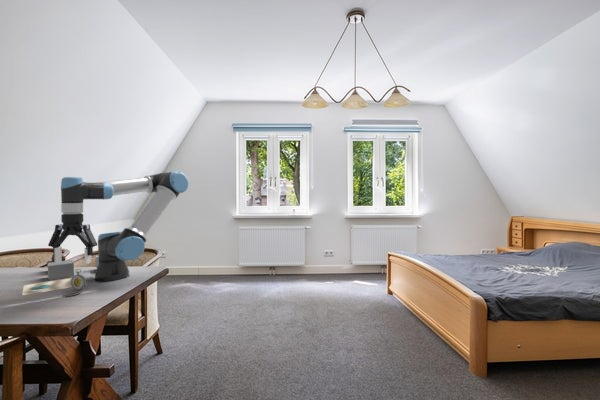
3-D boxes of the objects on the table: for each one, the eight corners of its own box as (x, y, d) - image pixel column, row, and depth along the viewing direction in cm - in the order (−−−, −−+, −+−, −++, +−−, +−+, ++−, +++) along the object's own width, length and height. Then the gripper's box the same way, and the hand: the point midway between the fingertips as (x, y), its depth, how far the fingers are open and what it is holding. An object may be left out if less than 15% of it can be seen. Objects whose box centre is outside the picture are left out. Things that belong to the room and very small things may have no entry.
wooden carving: (42, 271, 170) (42, 254, 170) (52, 269, 175) (51, 252, 174) (61, 274, 164) (60, 255, 164) (70, 272, 168) (70, 254, 168)
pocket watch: (60, 298, 125) (59, 273, 125) (64, 292, 133) (64, 269, 132) (84, 294, 129) (83, 271, 129) (87, 289, 136) (87, 267, 136)
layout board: (82, 278, 155) (82, 276, 155) (86, 286, 140) (86, 284, 140) (23, 287, 140) (23, 285, 140) (22, 297, 126) (22, 295, 126)
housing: (72, 274, 162) (72, 259, 162) (74, 278, 155) (73, 262, 155) (48, 278, 156) (47, 262, 156) (48, 282, 148) (48, 266, 148)
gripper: (106, 212, 133) (106, 261, 133) (53, 213, 135) (53, 260, 135) (93, 213, 125) (94, 265, 126) (37, 213, 127) (37, 264, 128)
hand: (73, 263), depth 130 cm, fingers open, 13 cm apart
